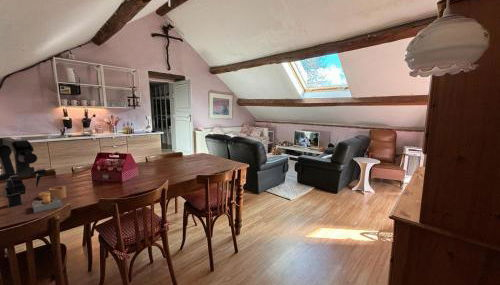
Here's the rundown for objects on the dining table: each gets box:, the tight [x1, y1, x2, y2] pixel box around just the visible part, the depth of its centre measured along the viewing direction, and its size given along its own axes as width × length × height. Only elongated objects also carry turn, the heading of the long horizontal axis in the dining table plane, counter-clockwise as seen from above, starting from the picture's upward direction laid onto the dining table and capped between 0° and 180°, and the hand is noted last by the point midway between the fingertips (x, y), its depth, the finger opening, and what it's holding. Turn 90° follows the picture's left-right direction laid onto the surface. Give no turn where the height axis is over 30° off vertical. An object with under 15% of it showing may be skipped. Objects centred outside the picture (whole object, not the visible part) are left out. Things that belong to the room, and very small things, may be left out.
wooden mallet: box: [38, 185, 67, 200], centre depth 148 cm, size 18×8×7 cm, turn 76°
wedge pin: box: [42, 193, 50, 204], centre depth 132 cm, size 4×4×8 cm
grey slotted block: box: [32, 197, 63, 214], centre depth 132 cm, size 12×12×4 cm
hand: (25, 188), depth 128 cm, fingers open, 9 cm apart
